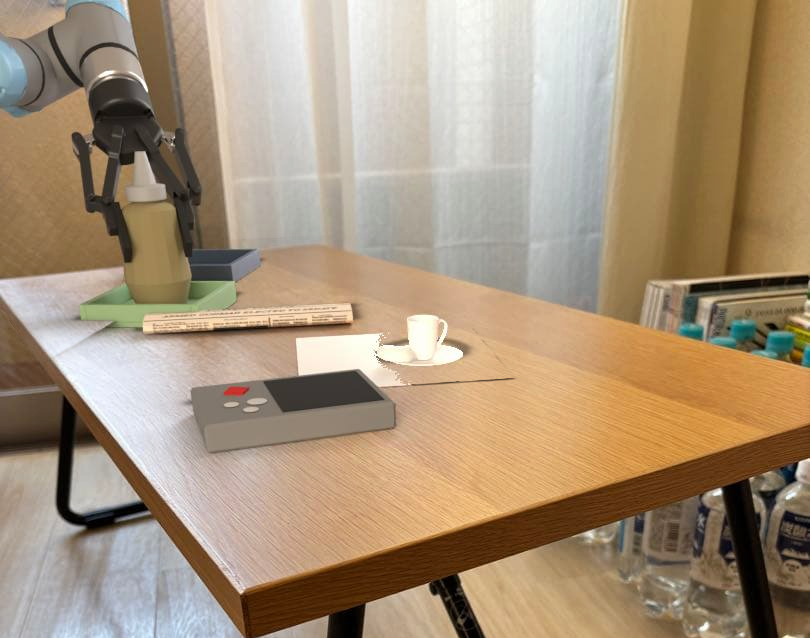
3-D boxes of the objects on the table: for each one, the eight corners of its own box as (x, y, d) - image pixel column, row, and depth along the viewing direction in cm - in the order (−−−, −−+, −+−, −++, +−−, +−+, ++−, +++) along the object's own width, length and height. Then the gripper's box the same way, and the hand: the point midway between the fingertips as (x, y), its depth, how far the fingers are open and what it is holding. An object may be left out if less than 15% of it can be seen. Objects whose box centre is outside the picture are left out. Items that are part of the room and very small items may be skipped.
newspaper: (144, 336, 100) (141, 320, 100) (151, 322, 107) (149, 307, 106) (353, 325, 103) (352, 310, 102) (348, 312, 109) (347, 297, 108)
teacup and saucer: (380, 373, 86) (378, 330, 84) (372, 351, 93) (370, 312, 91) (470, 367, 87) (470, 325, 85) (455, 347, 94) (455, 307, 92)
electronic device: (189, 385, 75) (360, 365, 79) (193, 412, 76) (361, 392, 80) (204, 423, 66) (396, 399, 70) (208, 454, 68) (397, 429, 72)
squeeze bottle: (203, 301, 115) (185, 148, 107) (183, 315, 107) (161, 153, 99) (143, 301, 115) (119, 149, 107) (119, 315, 108) (92, 154, 100)
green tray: (82, 327, 106) (78, 304, 105) (131, 300, 119) (127, 281, 118) (200, 327, 104) (197, 305, 103) (237, 301, 117) (234, 281, 116)
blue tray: (136, 284, 130) (133, 265, 128) (171, 266, 143) (169, 249, 141) (233, 284, 128) (231, 265, 127) (260, 265, 141) (259, 248, 140)
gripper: (195, 119, 118) (237, 265, 112) (39, 125, 112) (75, 280, 105) (197, 72, 111) (242, 225, 105) (32, 76, 105) (69, 238, 99)
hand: (158, 252), depth 105 cm, fingers closed on squeeze bottle, 6 cm apart
